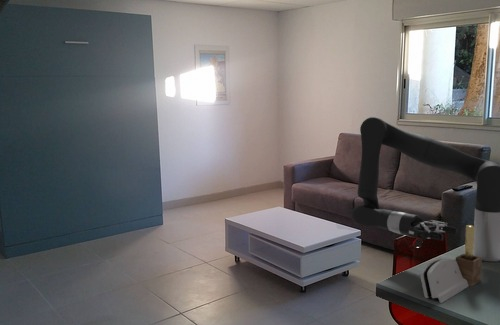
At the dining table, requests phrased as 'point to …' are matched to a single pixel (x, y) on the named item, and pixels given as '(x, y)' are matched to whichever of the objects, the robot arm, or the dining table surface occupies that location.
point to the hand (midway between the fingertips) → (449, 234)
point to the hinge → (442, 279)
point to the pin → (469, 242)
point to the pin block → (470, 269)
